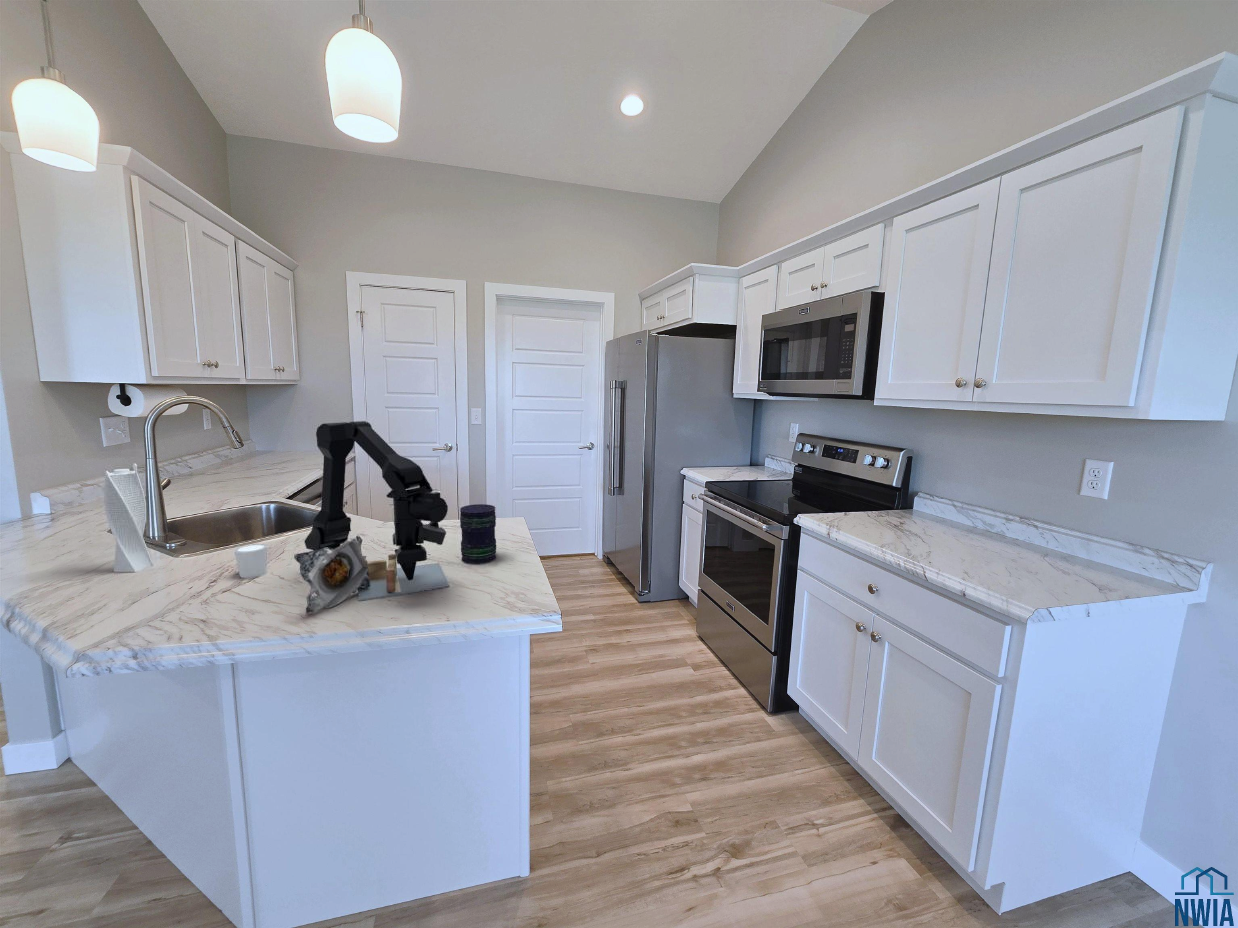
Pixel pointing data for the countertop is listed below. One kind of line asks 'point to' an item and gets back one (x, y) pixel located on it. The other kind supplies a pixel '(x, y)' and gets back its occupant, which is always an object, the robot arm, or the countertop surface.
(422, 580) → the board
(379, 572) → the fixed fence rail
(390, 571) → the rail
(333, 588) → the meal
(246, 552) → the white cylinder
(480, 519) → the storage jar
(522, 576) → the countertop surface
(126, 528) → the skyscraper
